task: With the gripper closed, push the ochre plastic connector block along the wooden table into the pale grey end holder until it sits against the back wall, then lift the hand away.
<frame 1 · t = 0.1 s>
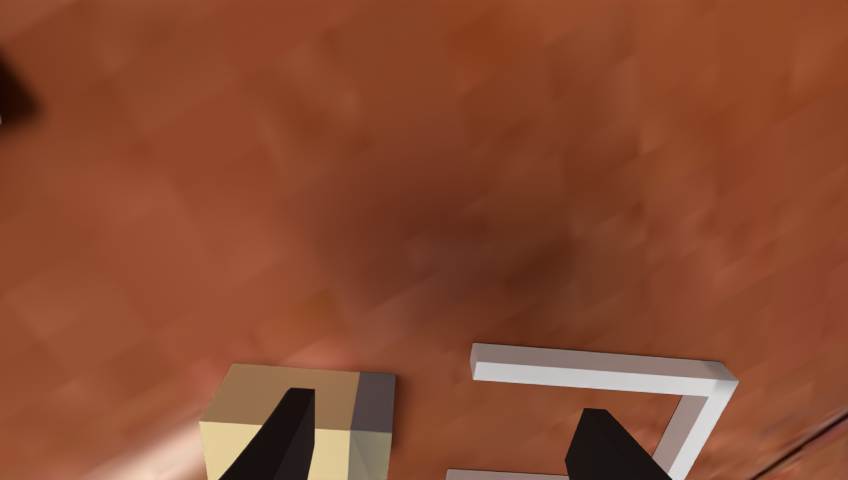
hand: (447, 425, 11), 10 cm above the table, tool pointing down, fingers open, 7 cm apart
end holder: (562, 425, 25), on the table
connector block: (315, 407, 24), on the table
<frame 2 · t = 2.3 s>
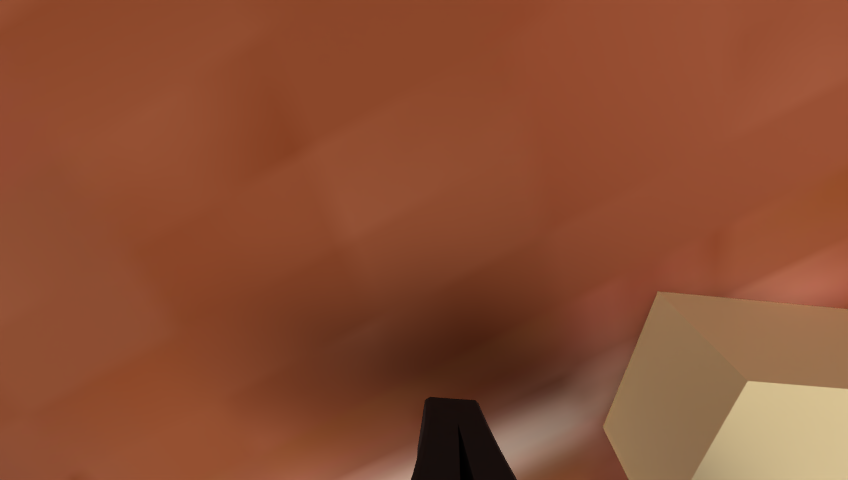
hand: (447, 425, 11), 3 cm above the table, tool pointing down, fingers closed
connector block: (748, 373, 15), on the table
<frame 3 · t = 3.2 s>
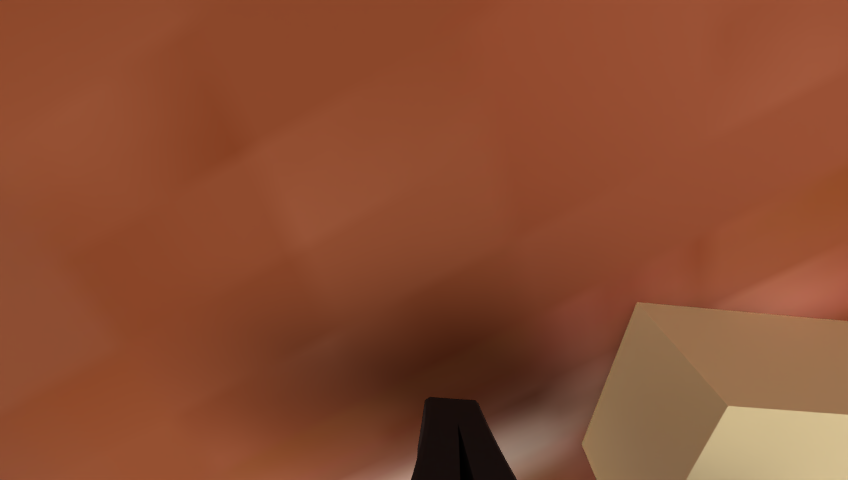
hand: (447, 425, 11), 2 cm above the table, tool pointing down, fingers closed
connector block: (735, 387, 14), on the table
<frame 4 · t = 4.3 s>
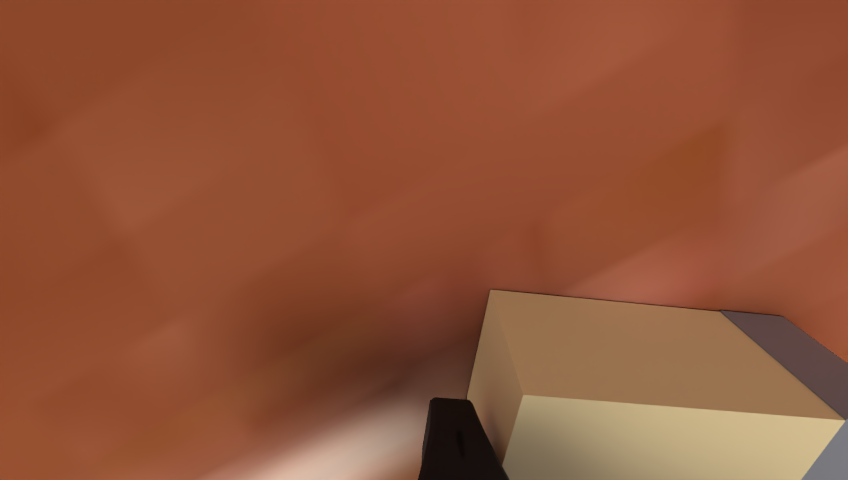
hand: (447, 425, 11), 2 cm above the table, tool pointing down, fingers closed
connector block: (608, 381, 13), on the table, touching gripper
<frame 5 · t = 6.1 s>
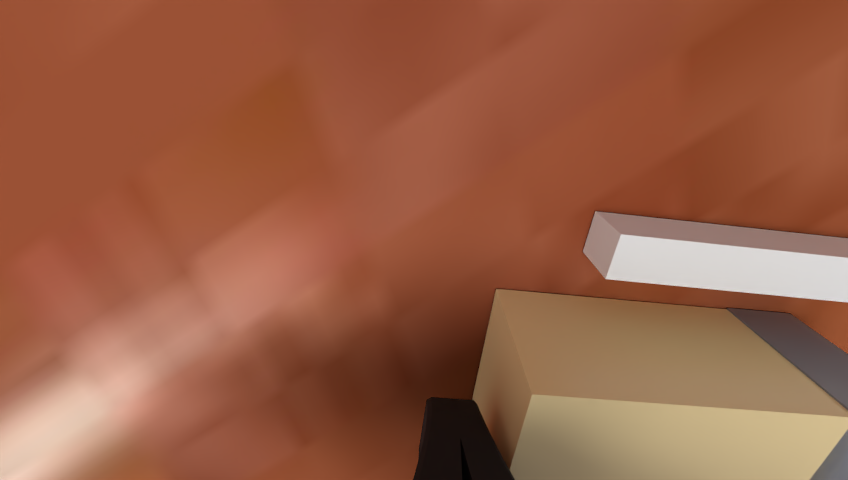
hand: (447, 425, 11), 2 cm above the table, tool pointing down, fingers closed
end holder: (734, 391, 14), on the table
connector block: (615, 379, 13), on the table, touching gripper
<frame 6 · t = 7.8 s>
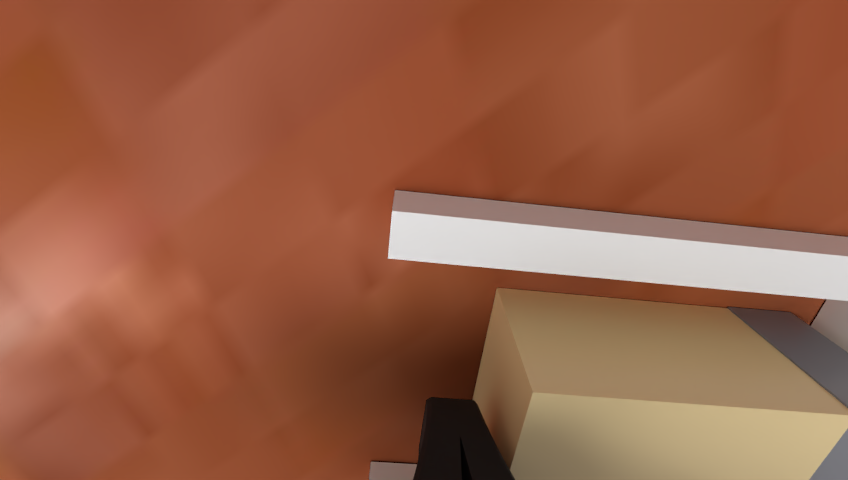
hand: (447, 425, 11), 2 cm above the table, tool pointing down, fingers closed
end holder: (580, 378, 13), on the table
connector block: (615, 378, 13), on the table, touching gripper
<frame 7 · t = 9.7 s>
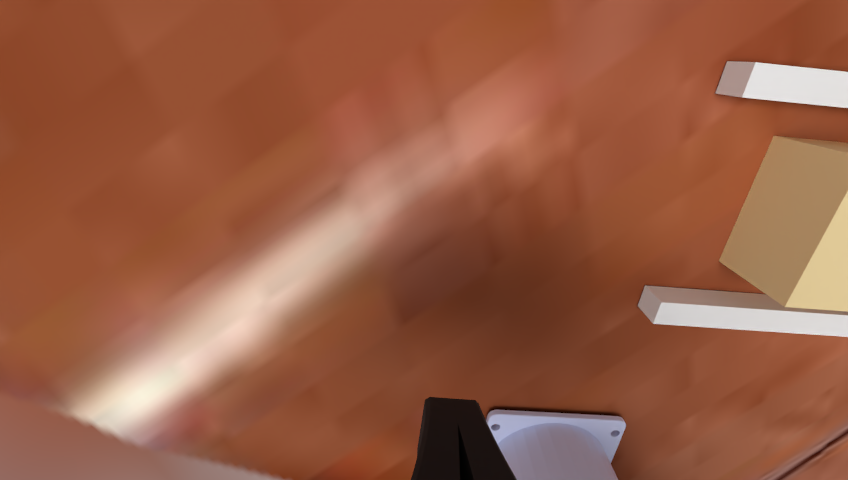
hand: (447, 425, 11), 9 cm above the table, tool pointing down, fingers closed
end holder: (813, 210, 19), on the table
connector block: (836, 209, 19), on the table
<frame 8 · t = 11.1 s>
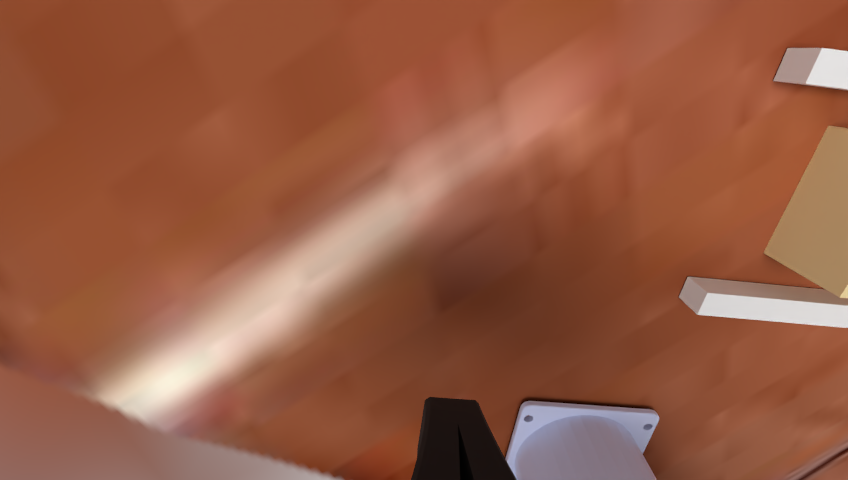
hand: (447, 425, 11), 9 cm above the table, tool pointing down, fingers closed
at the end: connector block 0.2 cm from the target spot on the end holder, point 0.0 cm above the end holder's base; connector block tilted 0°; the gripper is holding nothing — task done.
